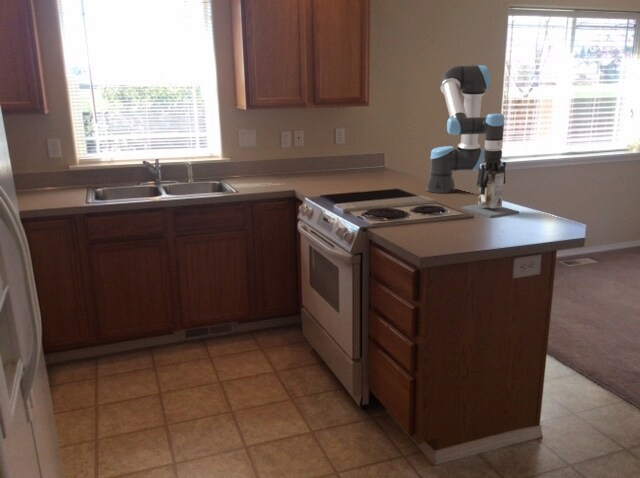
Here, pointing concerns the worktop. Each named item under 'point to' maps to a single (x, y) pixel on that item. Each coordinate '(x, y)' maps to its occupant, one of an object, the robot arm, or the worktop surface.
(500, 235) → the worktop surface
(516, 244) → the worktop surface
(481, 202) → the coffee box
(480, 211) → the mat
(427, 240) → the worktop surface
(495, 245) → the worktop surface
